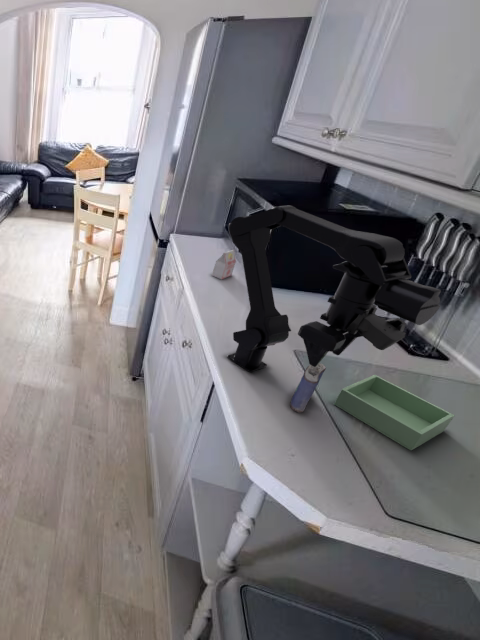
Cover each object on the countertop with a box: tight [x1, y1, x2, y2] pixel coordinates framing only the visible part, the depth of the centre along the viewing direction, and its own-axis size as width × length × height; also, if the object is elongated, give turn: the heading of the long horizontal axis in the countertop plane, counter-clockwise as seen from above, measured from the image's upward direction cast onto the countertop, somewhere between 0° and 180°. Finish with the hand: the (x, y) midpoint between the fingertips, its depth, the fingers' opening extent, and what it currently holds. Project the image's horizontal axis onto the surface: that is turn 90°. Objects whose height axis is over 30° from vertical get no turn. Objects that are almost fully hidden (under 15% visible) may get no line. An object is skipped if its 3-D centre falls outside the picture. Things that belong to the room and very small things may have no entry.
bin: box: [333, 374, 456, 451], centre depth 85 cm, size 13×13×4 cm
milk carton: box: [211, 249, 237, 280], centre depth 147 cm, size 4×7×10 cm, turn 120°
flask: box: [289, 362, 327, 414], centre depth 88 cm, size 9×3×11 cm, turn 129°
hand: (324, 359), depth 85 cm, fingers open, 9 cm apart
